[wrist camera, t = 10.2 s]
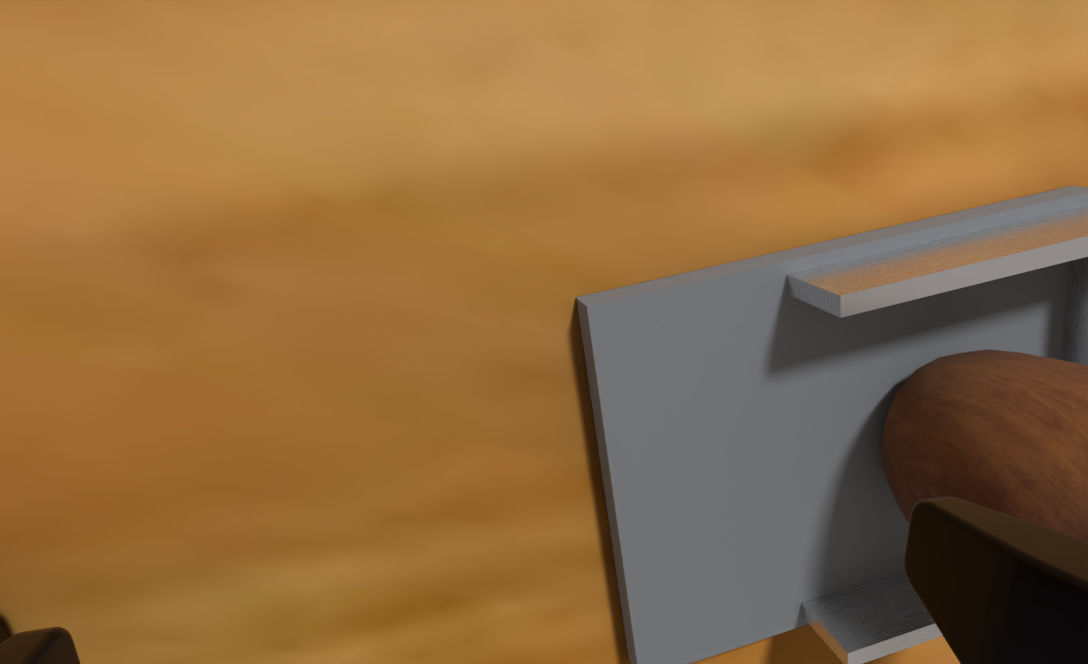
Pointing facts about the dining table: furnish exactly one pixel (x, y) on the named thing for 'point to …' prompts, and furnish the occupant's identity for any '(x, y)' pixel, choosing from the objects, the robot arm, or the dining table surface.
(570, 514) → the dining table surface
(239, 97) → the dining table surface
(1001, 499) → the wooden figurine
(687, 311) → the grey shallow rectangular tray
